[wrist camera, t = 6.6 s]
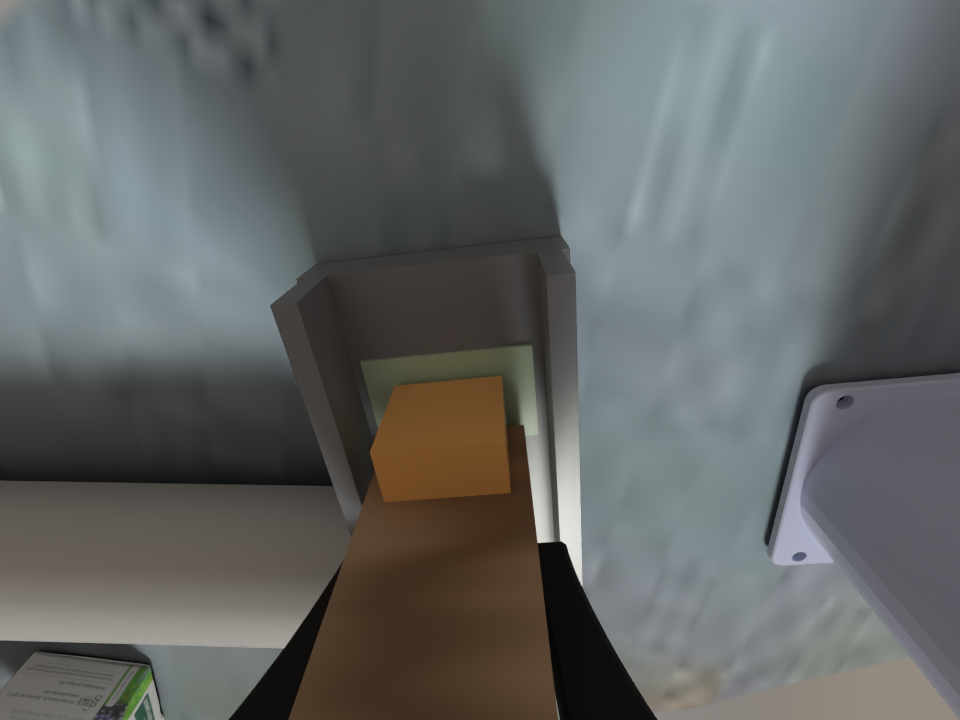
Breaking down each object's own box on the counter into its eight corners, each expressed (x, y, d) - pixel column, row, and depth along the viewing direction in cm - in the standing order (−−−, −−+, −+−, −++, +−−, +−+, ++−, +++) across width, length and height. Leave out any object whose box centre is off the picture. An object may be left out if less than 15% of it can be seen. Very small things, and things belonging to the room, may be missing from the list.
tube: (-316, 655, 16) (394, 676, 15) (-583, 614, 12) (361, 639, 11) (-163, 509, 19) (414, 520, 19) (-328, 440, 15) (394, 450, 15)
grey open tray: (316, 263, 13) (261, 306, 10) (561, 235, 12) (585, 271, 9) (399, 551, 18) (380, 638, 15) (571, 540, 18) (589, 627, 15)
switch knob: (394, 385, 13) (369, 452, 10) (501, 375, 12) (504, 441, 10) (405, 429, 13) (384, 502, 11) (506, 420, 13) (511, 493, 10)
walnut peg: (524, 424, 13) (565, 795, 6) (533, 527, 15) (574, 907, 7) (386, 436, 13) (259, 804, 6) (412, 535, 15) (338, 909, 8)
